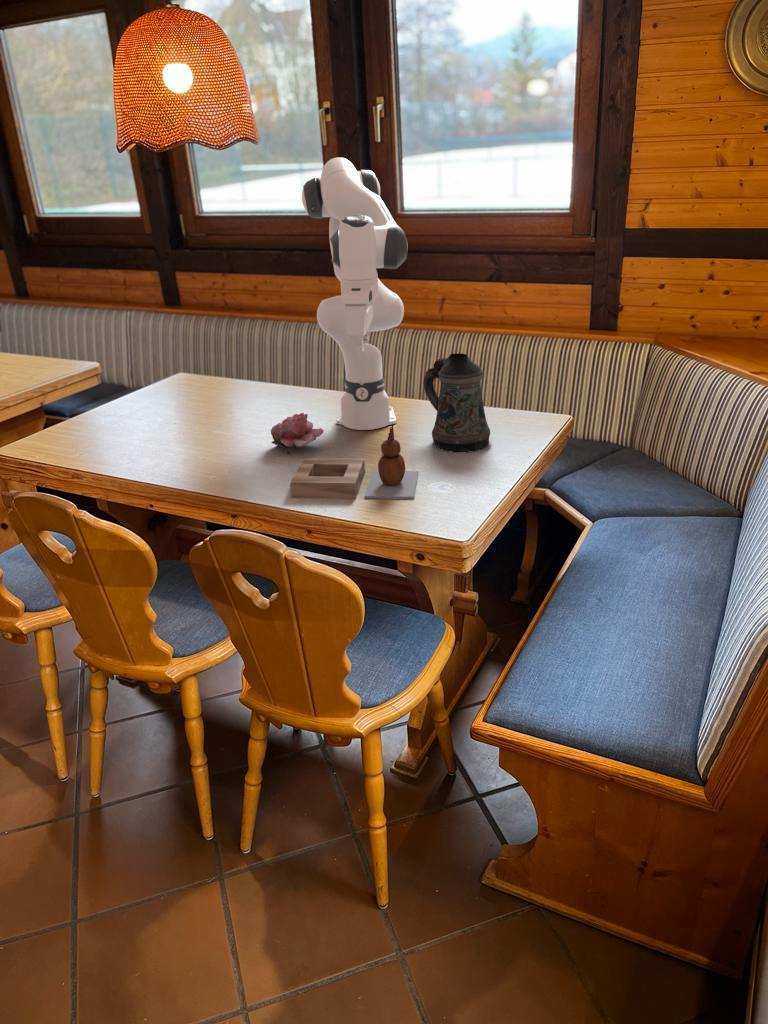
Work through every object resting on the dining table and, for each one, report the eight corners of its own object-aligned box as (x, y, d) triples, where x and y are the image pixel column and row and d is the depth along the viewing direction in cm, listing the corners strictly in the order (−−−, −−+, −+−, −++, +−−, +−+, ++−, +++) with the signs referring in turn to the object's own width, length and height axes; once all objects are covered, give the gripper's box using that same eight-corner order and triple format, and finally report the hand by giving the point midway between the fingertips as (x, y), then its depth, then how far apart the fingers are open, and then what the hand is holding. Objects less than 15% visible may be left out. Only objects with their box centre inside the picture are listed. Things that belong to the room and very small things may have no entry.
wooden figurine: (391, 476, 193) (389, 420, 186) (409, 481, 189) (407, 424, 183) (374, 484, 188) (371, 427, 182) (392, 490, 185) (390, 432, 178)
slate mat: (372, 472, 197) (372, 470, 197) (418, 473, 195) (418, 471, 195) (364, 498, 182) (364, 496, 182) (413, 498, 181) (413, 496, 181)
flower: (332, 431, 219) (318, 400, 215) (315, 455, 207) (300, 423, 203) (288, 441, 225) (275, 412, 221) (269, 465, 213) (255, 435, 209)
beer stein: (487, 454, 206) (489, 363, 195) (417, 451, 210) (415, 363, 199) (492, 433, 220) (494, 348, 210) (426, 431, 224) (425, 348, 213)
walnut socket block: (305, 472, 199) (303, 458, 197) (365, 472, 197) (364, 458, 195) (291, 497, 185) (290, 482, 183) (356, 498, 183) (355, 483, 181)
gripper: (352, 281, 188) (355, 336, 194) (339, 298, 169) (343, 359, 176) (377, 281, 187) (379, 336, 193) (367, 298, 169) (369, 358, 175)
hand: (362, 347), depth 184 cm, fingers open, 8 cm apart
